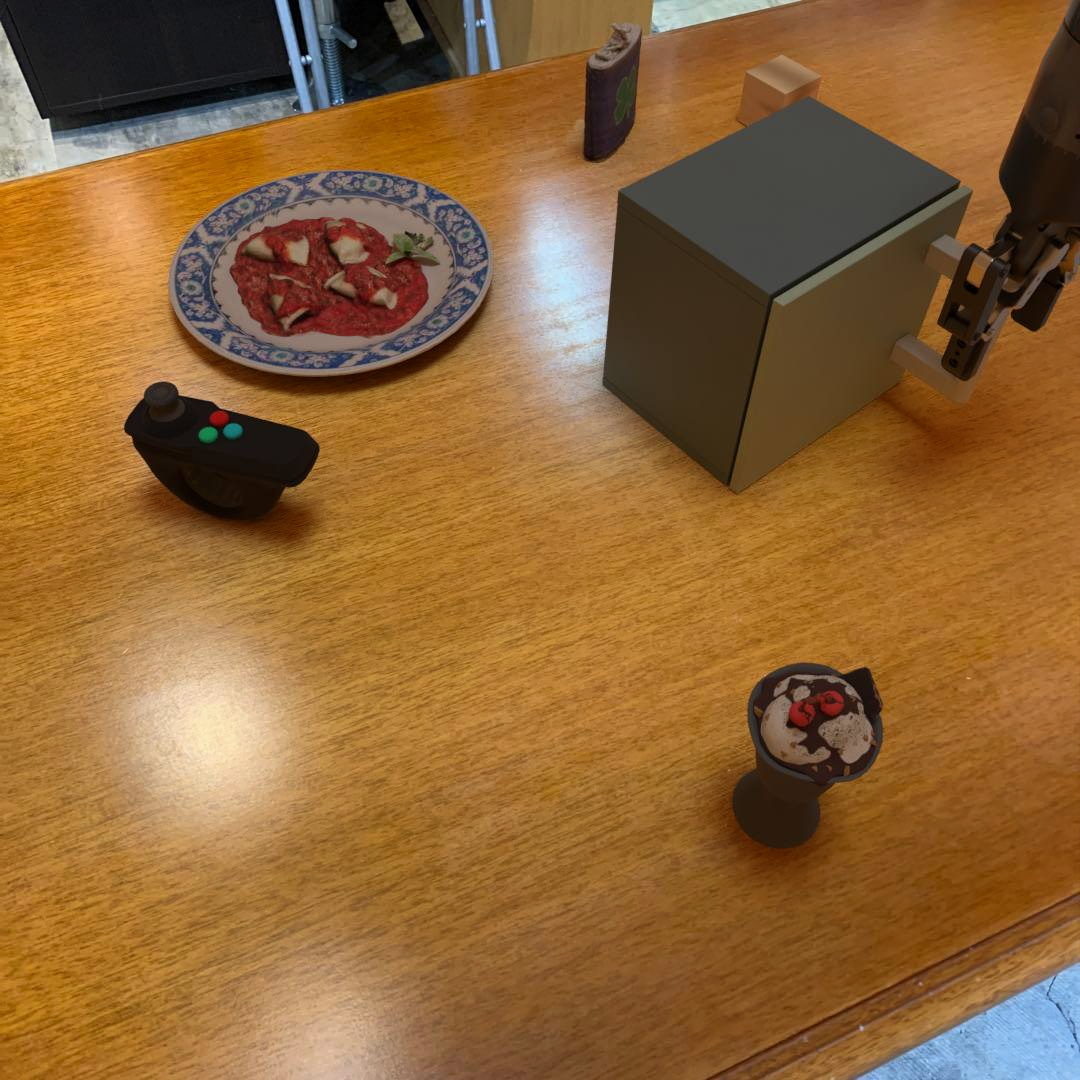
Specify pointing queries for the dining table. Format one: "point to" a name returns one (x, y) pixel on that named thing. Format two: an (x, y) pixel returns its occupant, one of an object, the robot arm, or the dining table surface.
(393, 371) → the dining table surface
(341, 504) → the dining table surface
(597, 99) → the flask
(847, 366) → the door
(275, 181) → the ceramic plate
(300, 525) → the dining table surface
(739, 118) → the block
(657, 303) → the cupboard
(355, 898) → the dining table surface
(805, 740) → the sundae
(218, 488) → the controller
